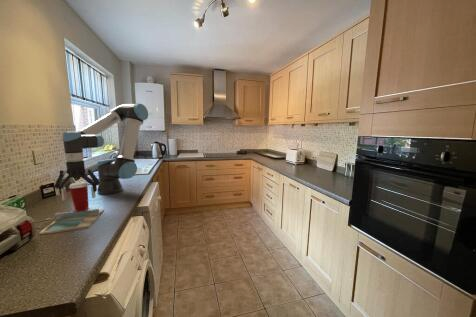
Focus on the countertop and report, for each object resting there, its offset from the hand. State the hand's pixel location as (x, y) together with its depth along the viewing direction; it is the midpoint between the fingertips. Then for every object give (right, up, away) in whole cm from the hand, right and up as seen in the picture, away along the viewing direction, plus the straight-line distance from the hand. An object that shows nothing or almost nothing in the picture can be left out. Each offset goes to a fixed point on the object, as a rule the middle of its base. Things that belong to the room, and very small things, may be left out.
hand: (79, 198), depth 110 cm
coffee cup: (0, -7, +1) cm, 7 cm away
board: (+8, -9, -12) cm, 17 cm away
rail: (+7, -7, -10) cm, 14 cm away
